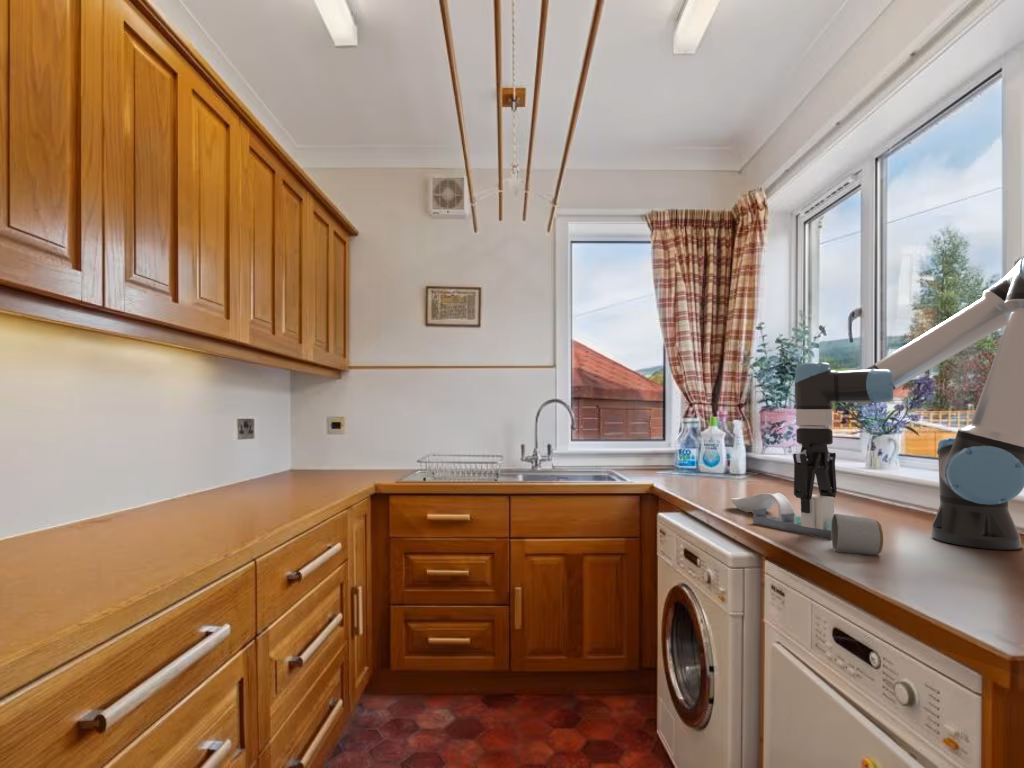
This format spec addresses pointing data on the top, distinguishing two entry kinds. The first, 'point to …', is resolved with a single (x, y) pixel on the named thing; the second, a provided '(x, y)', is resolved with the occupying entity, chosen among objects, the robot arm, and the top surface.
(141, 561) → the top surface
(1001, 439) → the robot arm
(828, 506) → the nylon block
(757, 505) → the spoon rest
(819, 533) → the rail
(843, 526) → the grey cylinder
